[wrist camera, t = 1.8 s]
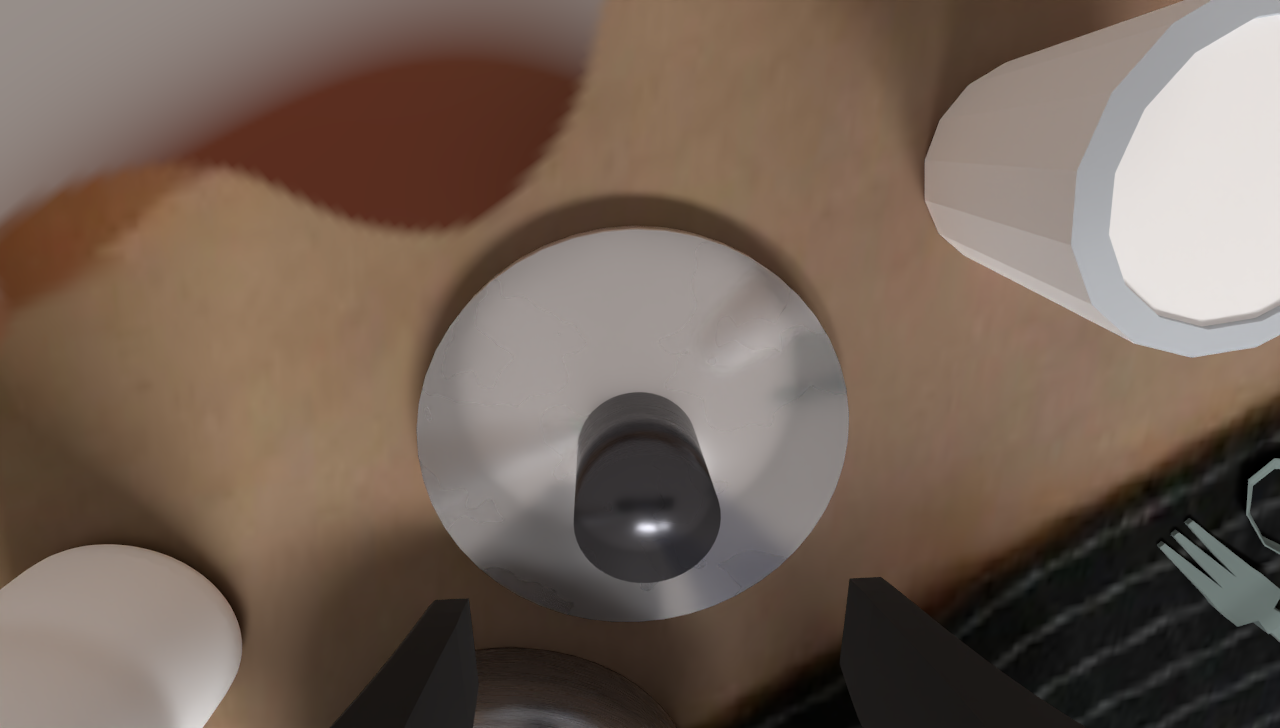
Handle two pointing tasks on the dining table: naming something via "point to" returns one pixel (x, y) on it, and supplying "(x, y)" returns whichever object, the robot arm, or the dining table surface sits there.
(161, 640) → the water bottle
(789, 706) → the dining table surface
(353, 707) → the robot arm
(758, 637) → the dining table surface
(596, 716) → the cooking pot
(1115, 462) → the dining table surface
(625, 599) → the steel lid
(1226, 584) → the cutlery set
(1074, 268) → the white cup
